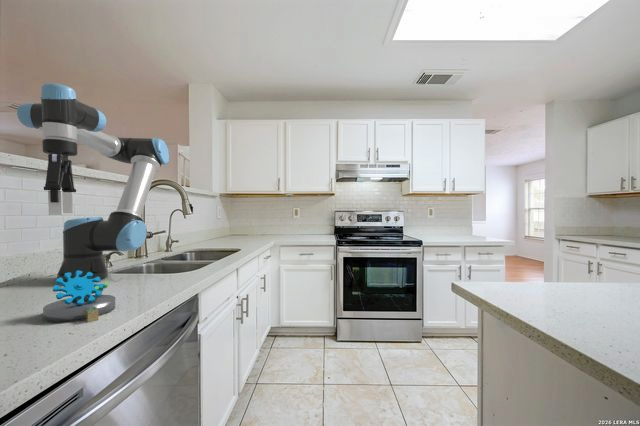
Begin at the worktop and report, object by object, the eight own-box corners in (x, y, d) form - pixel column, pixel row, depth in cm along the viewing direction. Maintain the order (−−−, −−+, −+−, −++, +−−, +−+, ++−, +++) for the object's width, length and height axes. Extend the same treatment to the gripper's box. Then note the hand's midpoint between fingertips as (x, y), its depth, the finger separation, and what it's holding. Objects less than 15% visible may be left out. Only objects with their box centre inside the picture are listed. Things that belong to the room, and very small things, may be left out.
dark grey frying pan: (37, 313, 72) (38, 303, 72) (105, 300, 83) (105, 291, 83) (52, 330, 62) (52, 318, 62) (127, 313, 73) (127, 303, 73)
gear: (53, 304, 66) (54, 268, 72) (47, 318, 68) (48, 283, 74) (111, 300, 75) (107, 268, 80) (103, 313, 77) (100, 282, 82)
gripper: (54, 146, 93) (56, 212, 94) (27, 129, 71) (29, 215, 72) (84, 148, 97) (86, 212, 97) (66, 133, 75) (68, 215, 76)
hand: (62, 214), depth 85 cm, fingers open, 13 cm apart
